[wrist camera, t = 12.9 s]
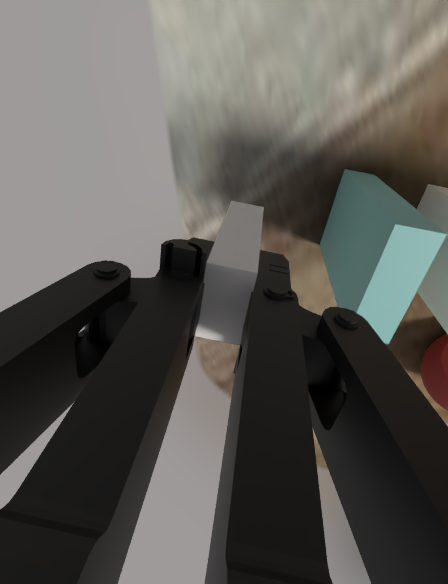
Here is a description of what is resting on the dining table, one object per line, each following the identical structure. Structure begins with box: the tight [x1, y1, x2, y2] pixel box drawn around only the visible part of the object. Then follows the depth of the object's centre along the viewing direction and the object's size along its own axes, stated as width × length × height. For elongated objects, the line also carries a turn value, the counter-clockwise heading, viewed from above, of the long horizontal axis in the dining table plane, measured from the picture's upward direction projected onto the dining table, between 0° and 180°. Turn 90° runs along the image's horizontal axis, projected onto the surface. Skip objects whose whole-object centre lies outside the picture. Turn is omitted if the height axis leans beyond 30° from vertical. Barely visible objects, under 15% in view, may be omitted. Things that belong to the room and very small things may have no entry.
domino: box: [320, 169, 447, 344], centre depth 17 cm, size 2×5×10 cm, turn 171°
